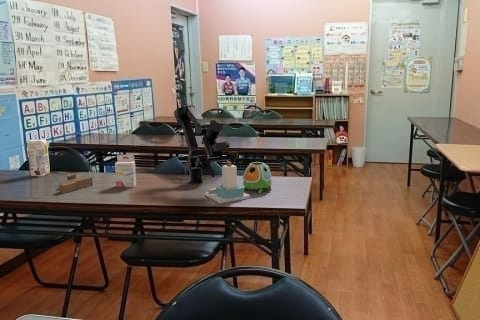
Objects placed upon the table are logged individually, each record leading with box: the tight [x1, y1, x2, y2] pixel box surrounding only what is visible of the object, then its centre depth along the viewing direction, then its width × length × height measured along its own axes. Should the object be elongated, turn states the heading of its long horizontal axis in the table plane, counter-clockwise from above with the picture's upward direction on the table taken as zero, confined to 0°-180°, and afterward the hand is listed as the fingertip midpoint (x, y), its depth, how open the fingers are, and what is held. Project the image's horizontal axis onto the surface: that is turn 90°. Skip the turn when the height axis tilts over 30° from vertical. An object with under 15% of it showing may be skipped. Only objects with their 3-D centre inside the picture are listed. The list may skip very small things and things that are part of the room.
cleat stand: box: [204, 184, 251, 204], centre depth 184 cm, size 14×14×5 cm
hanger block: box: [221, 162, 238, 190], centre depth 180 cm, size 4×4×14 cm
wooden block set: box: [58, 172, 94, 194], centre depth 204 cm, size 17×6×18 cm
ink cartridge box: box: [114, 154, 137, 189], centre depth 203 cm, size 9×5×15 cm, turn 92°
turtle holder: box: [242, 161, 273, 194], centre depth 196 cm, size 12×18×12 cm
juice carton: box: [26, 138, 51, 177], centre depth 230 cm, size 8×9×19 cm
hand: (223, 175), depth 185 cm, fingers open, 9 cm apart
